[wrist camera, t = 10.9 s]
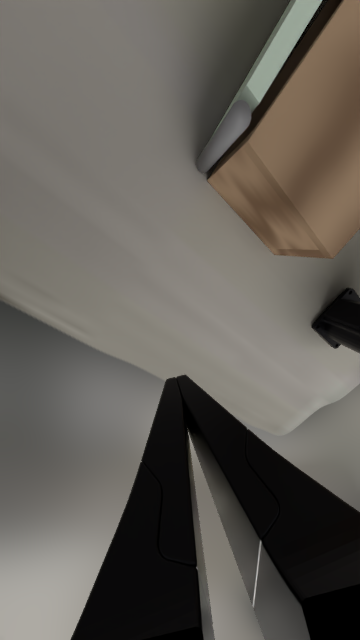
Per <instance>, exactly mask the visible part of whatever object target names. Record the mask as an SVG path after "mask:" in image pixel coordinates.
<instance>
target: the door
mask: <svg viewBox="0 0 360 640" xmlns="http://www.w3.org/2000/svg"><path fill="white" fill-rule="evenodd" d="M321 2H322V0H291V1H290V3H289V4H288V6H287V8H286V9H285V11H284V13H283V15H282V16H281V18H280V20H279V22H278V23H277V25H276V27H275V28H274V30H273V32H272V34H271V35H270V37H269V39H268V41H267V42H266V44H265V46H264V47H263V49H262V51H261V53H260V54H259V56H258V58H257V59H256V61H255V63H254V65H253V66H252V68H251V70H250V72H249V73H248V75H247V77H246V78H245V80H244V82H243V84H242V85H241V87H240V89H239V90H238V92H237V94H236V96H235V97H234V99H233V101H232V103H231V104H230V106H229V108H228V109H227V111H226V113H225V115H224V116H223V118H222V120H221V121H220V123H219V125H218V127H217V128H216V130H215V132H214V134H213V135H212V137H211V139H210V140H209V142H208V143H207V145H206V146H205V148H204V149H203V151H202V152H201V154H200V155H199V157H198V159H197V161H196V166H197V169H198V171H199V172H201V173H206V172H207V171H208V170H209V169H210V168H211V167H212V166H213V165H214V164H215V163H216V162H217V160H218V159H219V158H220V157H221V156H222V155H223V154H224V153H225V152H226V151H227V149H228V148H229V147H230V146H231V145H232V144H233V143H234V142H235V141H236V140H237V138H238V137H239V136H240V135H241V134H242V133H243V132H244V131H245V130H246V129H247V127H248V126H249V124H250V121H251V113H252V112H253V110H254V109H255V108H256V107H257V106H258V104H259V103H260V102H261V100H262V98H263V97H264V95H265V93H266V92H267V90H268V88H269V87H270V85H271V84H272V82H273V80H274V79H275V77H276V75H277V74H278V72H279V70H280V69H281V67H282V66H283V64H284V62H285V61H286V59H287V57H288V56H289V54H290V52H291V51H292V49H293V48H294V46H295V44H296V43H297V41H298V39H299V38H300V36H301V34H302V33H303V31H304V30H305V28H306V26H307V25H308V23H309V21H310V20H311V18H312V17H313V15H314V13H315V12H316V10H317V8H318V7H319V5H320V3H321Z"/></svg>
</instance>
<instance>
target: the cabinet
mask: <svg viewBox="0 0 360 640" xmlns="http://www.w3.org/2000/svg"><path fill="white" fill-rule="evenodd" d="M207 181H208V182H209V183H210V184H211V186H212V187H213V188H214V189H215V190H216V191H217V192H218V193H219V194H220V195H221V197H222V198H223V199H224V200H225V201H226V202H227V203H228V204H229V205H230V206H231V207H232V209H233V210H234V211H235V212H236V213H237V214H238V215H239V216H240V217H241V218H242V220H243V221H244V222H245V223H246V224H247V225H248V226H249V227H250V228H251V229H252V231H253V232H254V233H255V234H256V235H257V236H258V237H259V238H260V239H261V240H262V241H263V243H264V244H265V245H266V246H267V247H268V248H269V249H270V250H271V251H272V252H273V254H274V255H284V256H300V257H315V258H330V259H333V258H334V257H335V256H336V255H337V253H338V252H339V251H340V250H341V249H342V248H343V247H344V246H345V245H346V243H347V242H348V241H349V240H350V239H351V238H352V237H353V236H354V234H355V233H356V232H357V231H358V230H359V229H360V0H328V1H327V2H326V4H325V5H324V7H323V8H322V10H321V11H320V13H319V14H318V16H317V17H316V19H315V20H314V22H313V23H312V25H311V26H310V28H309V29H308V31H307V32H306V34H305V35H304V37H303V38H302V40H301V41H300V43H299V44H298V46H297V47H296V49H295V50H294V52H293V53H292V55H291V56H290V58H289V59H288V61H287V62H286V64H285V65H284V67H283V68H282V70H281V71H280V73H279V74H278V76H277V77H276V78H275V80H274V81H273V83H272V84H271V86H270V87H269V89H268V90H267V92H266V93H265V95H264V97H263V98H262V100H261V102H260V103H259V104H258V106H257V107H256V108H255V110H254V111H253V113H252V114H251V121H250V124H249V126H248V127H247V129H246V130H245V131H244V132H243V133H242V134H241V135H240V136H239V137H238V138H237V140H236V141H235V142H234V143H233V144H232V145H231V146H230V147H229V149H228V150H227V152H226V153H225V155H224V156H223V158H222V159H221V161H220V162H219V164H218V165H217V167H216V168H215V170H214V171H213V173H212V174H211V176H210V177H209V179H208V180H207Z"/></svg>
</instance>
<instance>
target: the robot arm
mask: <svg viewBox="0 0 360 640" xmlns="http://www.w3.org/2000/svg"><path fill="white" fill-rule="evenodd" d="M312 328H313V329H314V330H315V331H316V332H317V333H318V334H319V335H320V336H321V337H322V338H323V339H324V340H325V341H326V342H327V343H328V344H329V345H330V346H331V347H333V348H335V349H336V348H338V347H339V346H340V345H343V346H345V347H348V348H350V349H352V350H354V351H356V352H358V353H360V298H359V296H358V295H357V294H356V292H355V291H354V289H351V288H347V289H346V290H345V291H344V292H343V293H342V294H341V295H340V296H339V297H338V298H337V299H336V300H335V301H334V302H333V303H332V304H331V306H330V307H329V308H328V309H327V310H326V311H325V312H324V313H323V314H322V315H321V316H320V317H319V318H318V319H317V320H316V322H315V323H314V324H313V325H312ZM187 428H188V429H187ZM188 432H189V435H190V438H191V440H192V443H193V446H194V449H195V451H196V454H197V457H198V460H199V462H200V465H201V468H202V470H203V473H204V476H205V478H206V481H207V484H208V486H209V489H210V492H211V495H212V497H213V500H214V503H215V505H216V508H217V511H218V514H219V516H220V519H221V522H222V525H223V527H224V530H225V532H226V535H227V538H228V541H229V544H230V546H231V549H232V551H233V554H234V557H235V560H236V562H237V565H238V568H239V570H240V573H241V576H242V579H243V581H244V584H245V587H246V590H247V592H248V595H249V598H250V600H251V603H252V605H253V607H254V611H255V614H256V617H257V619H258V622H259V625H260V628H261V630H262V633H263V636H264V638H265V640H360V512H359V511H357V510H356V509H354V508H353V507H351V506H350V505H349V504H347V503H346V502H344V501H343V500H342V499H340V498H339V497H337V496H336V495H335V494H333V493H332V492H330V491H329V490H328V489H326V488H325V487H323V486H322V485H321V484H319V483H318V482H317V481H315V480H314V479H312V478H311V477H310V476H308V475H307V474H305V473H304V472H302V471H301V470H300V469H298V468H297V467H295V466H294V465H293V464H291V463H290V462H289V461H287V460H286V459H285V458H283V457H282V456H281V455H279V454H278V453H277V452H275V451H274V450H273V449H272V448H270V447H269V446H268V445H267V444H266V443H264V442H263V441H262V440H261V439H259V438H258V437H257V436H256V435H255V434H254V433H253V432H251V431H250V430H249V429H248V430H247V428H246V426H244V425H243V424H242V423H241V422H240V421H239V420H237V419H236V418H235V417H234V416H233V415H232V414H230V413H229V412H228V411H227V410H226V409H225V408H224V407H222V406H221V405H220V404H219V403H218V402H217V401H215V400H214V399H213V398H212V397H211V396H210V395H209V394H207V393H206V392H205V391H204V390H203V389H202V388H200V387H199V386H198V385H197V384H196V383H195V382H193V381H192V380H191V379H190V378H189V377H188V376H187V375H181V376H177V378H175V377H173V378H169V379H167V380H166V382H165V385H164V388H163V392H162V395H161V398H160V401H159V405H158V408H157V411H156V414H155V417H154V421H153V424H152V427H151V430H150V434H149V437H148V440H147V443H146V447H145V450H144V453H143V457H142V460H141V461H142V462H141V463H140V466H139V469H138V472H137V475H136V478H135V481H134V484H133V487H132V490H131V493H130V496H129V499H128V501H127V504H126V507H125V509H124V512H123V514H122V517H121V520H120V522H119V525H118V527H117V530H116V532H115V534H114V537H113V539H112V542H111V544H110V547H109V549H108V552H107V554H106V556H105V559H104V562H103V564H102V566H101V569H100V571H99V573H98V576H97V578H96V581H95V583H94V585H93V588H92V591H91V593H90V595H89V598H88V600H87V603H86V605H85V608H84V610H83V612H82V615H81V617H80V619H79V622H78V624H77V626H76V629H75V631H74V633H73V635H72V637H71V640H215V638H214V630H213V626H212V624H213V622H212V615H211V607H210V599H209V591H208V583H207V575H206V567H205V560H204V552H203V544H202V536H201V528H200V521H199V513H198V505H197V498H196V489H195V481H194V474H193V465H192V458H191V450H190V442H189V435H188Z"/></svg>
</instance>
